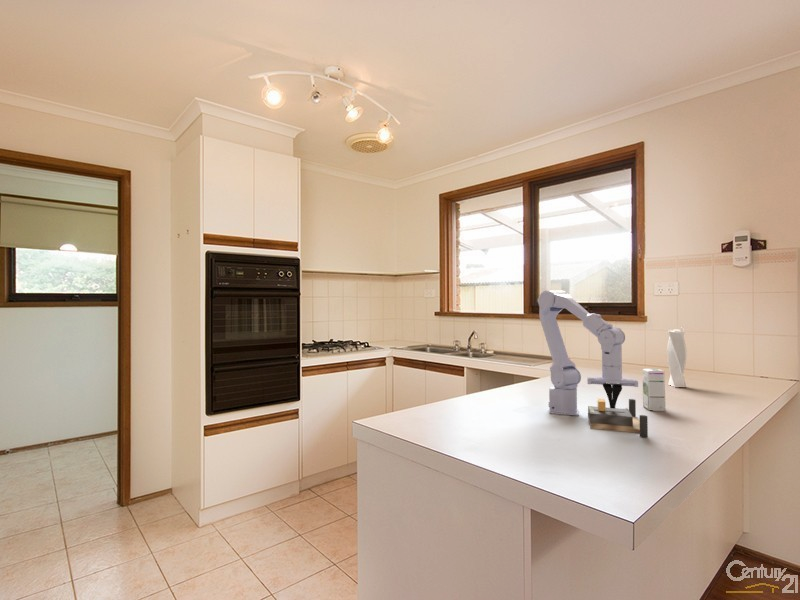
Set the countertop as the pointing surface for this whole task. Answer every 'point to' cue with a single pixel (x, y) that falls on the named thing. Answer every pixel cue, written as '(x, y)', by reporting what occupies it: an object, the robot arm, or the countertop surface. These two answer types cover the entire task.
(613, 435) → the countertop surface
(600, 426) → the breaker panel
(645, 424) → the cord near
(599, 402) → the orange cuboid
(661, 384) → the syrup box
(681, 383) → the skyscraper
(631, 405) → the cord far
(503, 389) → the countertop surface
